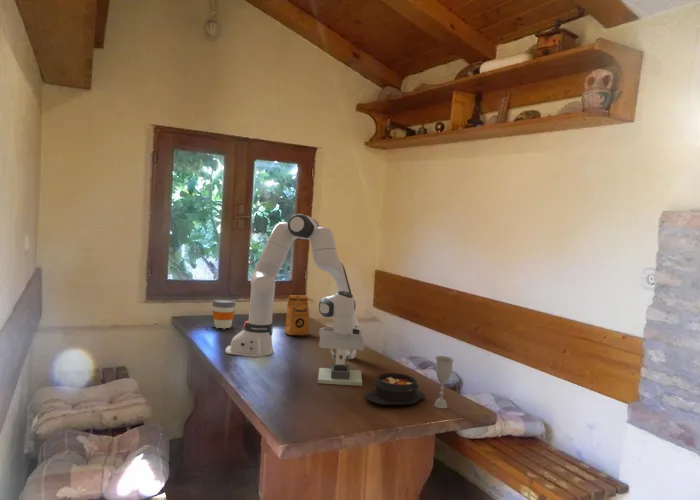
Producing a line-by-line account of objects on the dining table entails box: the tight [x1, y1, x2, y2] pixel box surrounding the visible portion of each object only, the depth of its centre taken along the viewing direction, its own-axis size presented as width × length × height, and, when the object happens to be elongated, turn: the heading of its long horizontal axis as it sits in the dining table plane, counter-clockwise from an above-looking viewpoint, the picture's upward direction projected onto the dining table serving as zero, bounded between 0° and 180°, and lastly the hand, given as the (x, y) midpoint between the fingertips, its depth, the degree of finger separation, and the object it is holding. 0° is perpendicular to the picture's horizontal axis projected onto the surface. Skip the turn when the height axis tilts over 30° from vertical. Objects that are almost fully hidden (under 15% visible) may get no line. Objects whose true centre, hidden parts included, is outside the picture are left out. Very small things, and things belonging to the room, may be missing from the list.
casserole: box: [363, 372, 426, 406], centre depth 206 cm, size 25×19×8 cm
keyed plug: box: [335, 349, 346, 365], centre depth 241 cm, size 4×9×9 cm, turn 1°
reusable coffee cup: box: [212, 298, 236, 330], centre depth 303 cm, size 13×13×15 cm
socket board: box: [317, 363, 363, 387], centre depth 227 cm, size 18×16×4 cm
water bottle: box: [345, 309, 359, 360], centre depth 258 cm, size 7×7×25 cm
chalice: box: [433, 355, 455, 409], centre depth 203 cm, size 7×7×18 cm
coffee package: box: [284, 294, 310, 336], centre depth 298 cm, size 10×12×22 cm
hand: (340, 358), depth 242 cm, fingers open, 5 cm apart
